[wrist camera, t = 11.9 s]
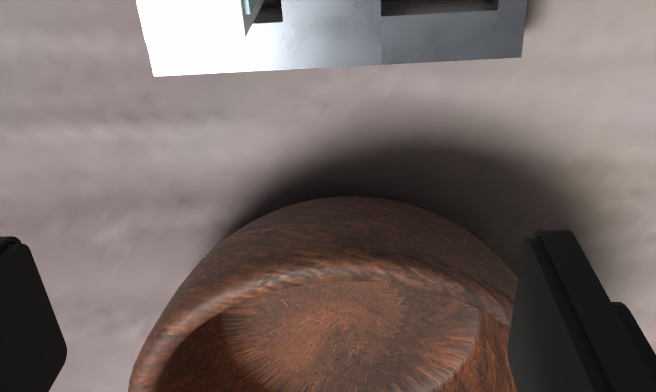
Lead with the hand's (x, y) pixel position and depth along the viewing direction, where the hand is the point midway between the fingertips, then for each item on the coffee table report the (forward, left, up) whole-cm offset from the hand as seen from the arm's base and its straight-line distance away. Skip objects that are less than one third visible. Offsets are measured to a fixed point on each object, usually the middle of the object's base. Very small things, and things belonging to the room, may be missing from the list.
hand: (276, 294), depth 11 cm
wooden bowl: (-1, +21, -23) cm, 31 cm away
